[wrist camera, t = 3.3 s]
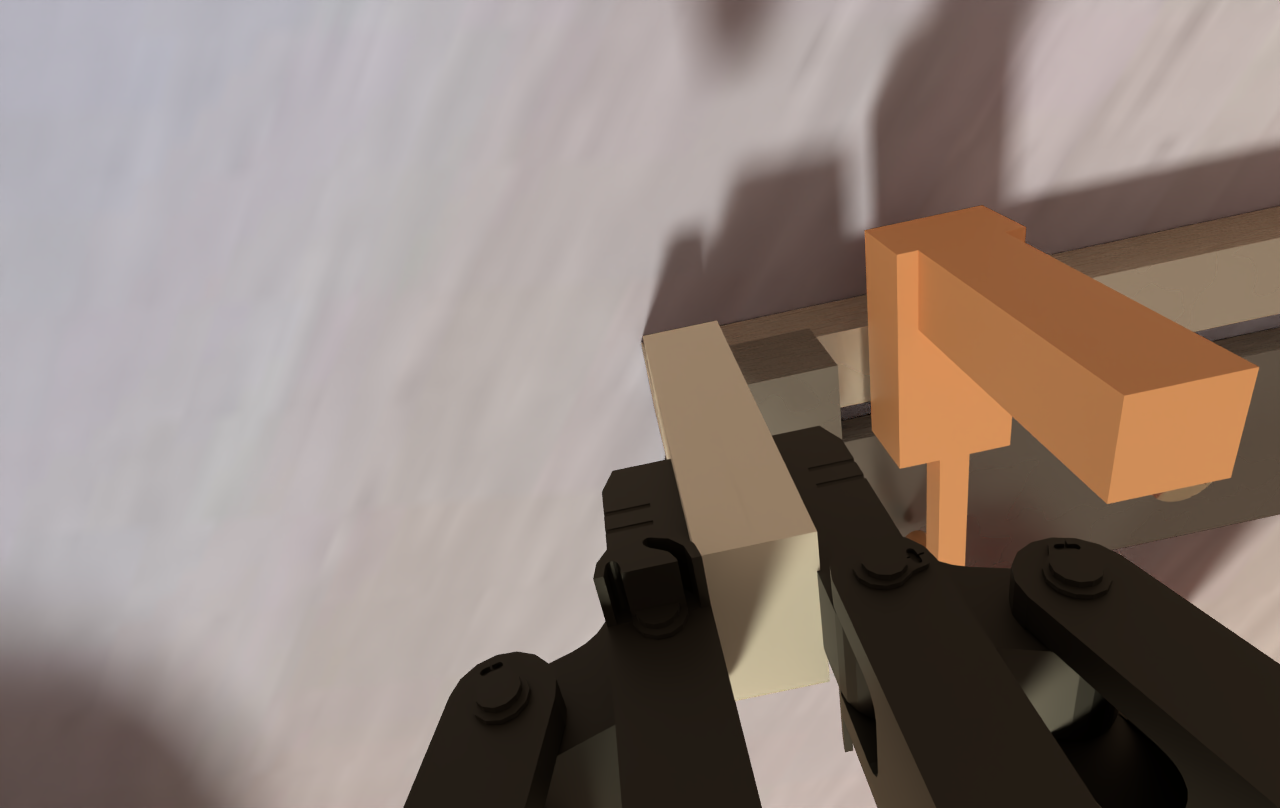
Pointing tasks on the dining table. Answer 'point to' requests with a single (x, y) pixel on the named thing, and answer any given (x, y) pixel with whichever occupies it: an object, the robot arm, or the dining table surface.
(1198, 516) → the hole plate
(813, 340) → the beam
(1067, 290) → the block
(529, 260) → the dining table surface
